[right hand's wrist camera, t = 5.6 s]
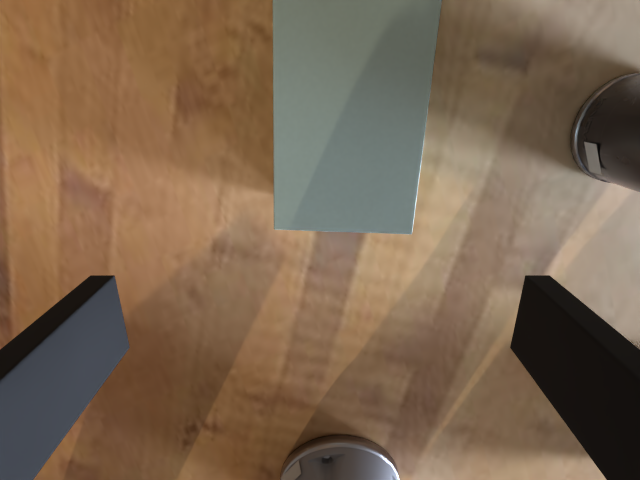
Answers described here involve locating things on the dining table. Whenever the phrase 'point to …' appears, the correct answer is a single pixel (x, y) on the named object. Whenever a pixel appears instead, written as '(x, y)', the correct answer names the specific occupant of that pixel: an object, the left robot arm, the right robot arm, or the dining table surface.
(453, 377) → the dining table surface
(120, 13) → the dining table surface
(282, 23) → the cabinet
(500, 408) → the dining table surface
